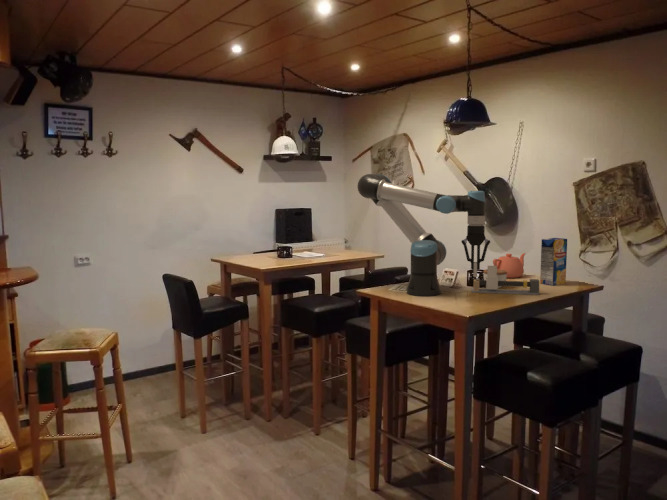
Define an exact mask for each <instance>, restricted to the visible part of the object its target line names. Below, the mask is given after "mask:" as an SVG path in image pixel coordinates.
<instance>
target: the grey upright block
mask: <svg viewBox="0 0 667 500" xmlns="http://www.w3.org/2000/svg"><path fill="white" fill-rule="evenodd" d="M487 269H488V271H487V277H486V285H485V289H499V288H498V278H497V266H494V265H487Z"/></svg>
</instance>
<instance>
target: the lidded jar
mask: <svg viewBox="0 0 667 500" xmlns="http://www.w3.org/2000/svg"><path fill="white" fill-rule="evenodd" d="M487 271H488V268H487V269H484V270H483V280H486V277H487ZM506 277H507V271H506V270H500V269H497V278H498V281H507V278H506ZM500 288H502V286H498V289H500Z"/></svg>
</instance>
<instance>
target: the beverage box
mask: <svg viewBox="0 0 667 500" xmlns="http://www.w3.org/2000/svg"><path fill="white" fill-rule="evenodd" d="M540 247H541V248H540V249H541V250H540V254H541V255H540V277H539V278H540V279H539V285H544V286H545V285H546V286H552V287H554V286H559V284H560V285H564V284H563V283H565V284H566V282H567V260H568V259H567V257H568V256H567V254H568V238H565V237H564V238H563V237H562V238H561V237H560V238H559V237H549V238H541V245H540Z"/></svg>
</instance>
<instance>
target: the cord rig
mask: <svg viewBox="0 0 667 500" xmlns="http://www.w3.org/2000/svg"><path fill="white" fill-rule="evenodd" d="M472 286H473V288H470V289H471V291H470V293H475V294H476V293H477V294H479V293H480V294H499V295H501V294H504V295H505V294H506V295H531V296H533V295H534V296H540V279H538V278H537V279H536V278H535V279H533V278H531V279H529V281H527V280H521V281H516V280H514V281H513V280H506V281H498V286H501V287H516V288H517V287H521V288H525V289H500V288H498V289H486V288H480V286H486V280H484V279H482V280H480V279H475V278H474V279H473V285H472ZM527 288H529V290H527Z"/></svg>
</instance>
